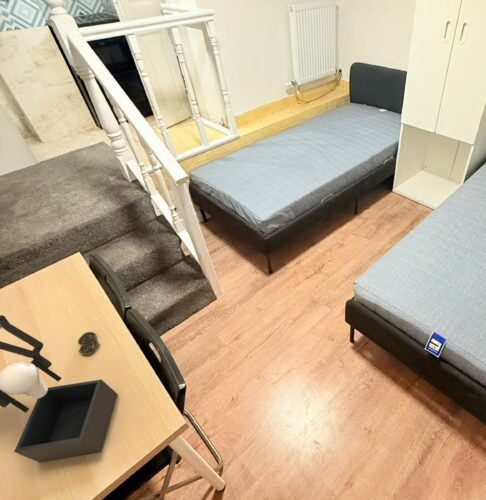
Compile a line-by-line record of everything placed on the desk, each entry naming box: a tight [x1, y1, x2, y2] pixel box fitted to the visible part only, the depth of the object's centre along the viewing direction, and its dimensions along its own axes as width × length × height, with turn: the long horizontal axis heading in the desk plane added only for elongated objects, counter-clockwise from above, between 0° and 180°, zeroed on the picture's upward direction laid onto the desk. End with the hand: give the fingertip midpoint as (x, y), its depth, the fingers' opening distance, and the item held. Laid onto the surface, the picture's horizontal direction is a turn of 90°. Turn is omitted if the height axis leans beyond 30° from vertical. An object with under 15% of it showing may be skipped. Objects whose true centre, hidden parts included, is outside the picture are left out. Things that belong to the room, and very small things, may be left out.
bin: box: [13, 378, 118, 463], centre depth 78 cm, size 13×13×9 cm
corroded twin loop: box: [77, 331, 99, 355], centre depth 96 cm, size 5×8×1 cm, turn 35°
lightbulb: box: [0, 360, 49, 399], centre depth 68 cm, size 6×6×11 cm
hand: (44, 394), depth 68 cm, fingers closed on lightbulb, 6 cm apart
